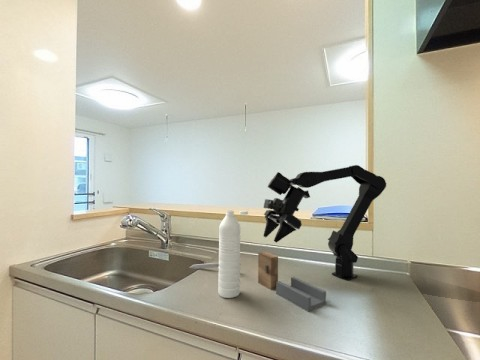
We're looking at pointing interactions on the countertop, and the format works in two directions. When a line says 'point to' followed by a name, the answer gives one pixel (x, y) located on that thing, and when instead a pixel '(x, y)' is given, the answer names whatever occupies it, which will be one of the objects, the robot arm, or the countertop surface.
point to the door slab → (267, 270)
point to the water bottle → (229, 256)
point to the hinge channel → (302, 294)
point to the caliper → (204, 265)
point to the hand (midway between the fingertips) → (269, 239)
